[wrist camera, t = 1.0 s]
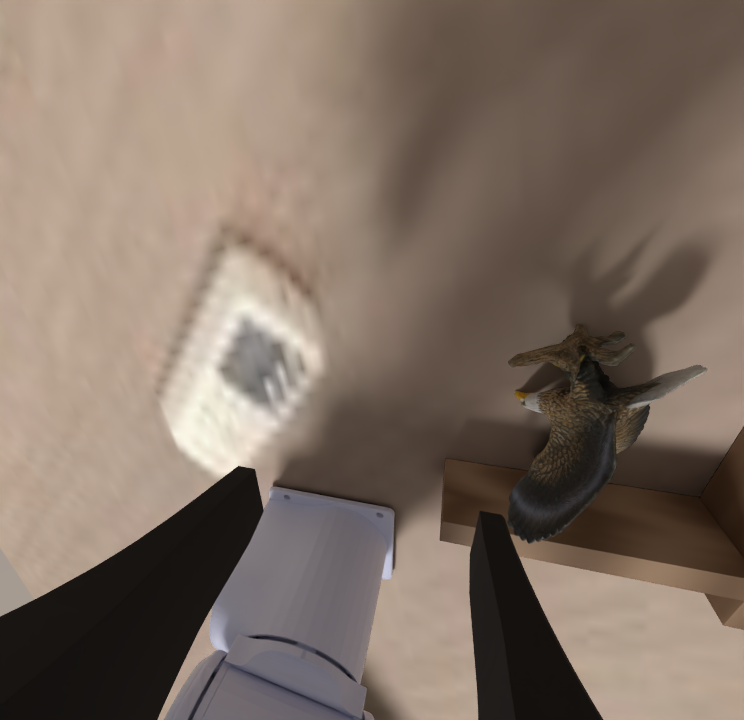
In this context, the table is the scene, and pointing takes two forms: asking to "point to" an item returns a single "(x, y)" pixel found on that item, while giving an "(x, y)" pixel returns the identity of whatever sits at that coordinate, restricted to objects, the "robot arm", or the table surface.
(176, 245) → the table surface
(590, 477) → the eagle figurine
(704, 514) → the walnut corner bracket
